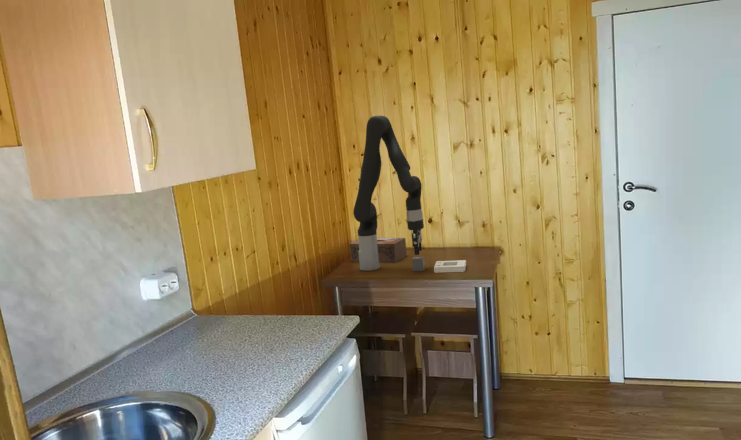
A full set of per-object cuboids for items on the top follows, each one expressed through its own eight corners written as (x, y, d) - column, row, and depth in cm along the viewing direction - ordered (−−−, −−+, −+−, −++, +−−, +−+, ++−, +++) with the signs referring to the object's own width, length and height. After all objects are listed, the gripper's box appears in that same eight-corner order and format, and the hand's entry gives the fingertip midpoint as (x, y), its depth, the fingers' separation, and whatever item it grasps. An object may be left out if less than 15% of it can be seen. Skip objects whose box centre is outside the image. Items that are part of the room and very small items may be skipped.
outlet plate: (434, 272, 269) (433, 267, 268) (437, 266, 280) (436, 261, 280) (464, 271, 266) (464, 266, 265) (466, 265, 277) (466, 259, 277)
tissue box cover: (406, 256, 309) (405, 237, 307) (396, 263, 296) (394, 243, 294) (363, 255, 320) (361, 237, 319) (351, 262, 308) (349, 243, 306)
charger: (413, 271, 275) (412, 258, 274) (414, 269, 279) (413, 256, 278) (423, 271, 274) (422, 258, 273) (424, 268, 278) (423, 256, 277)
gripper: (409, 217, 280) (412, 249, 283) (404, 222, 267) (408, 256, 269) (424, 215, 279) (428, 248, 281) (420, 220, 265) (424, 255, 267)
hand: (418, 252), depth 275 cm, fingers open, 8 cm apart
